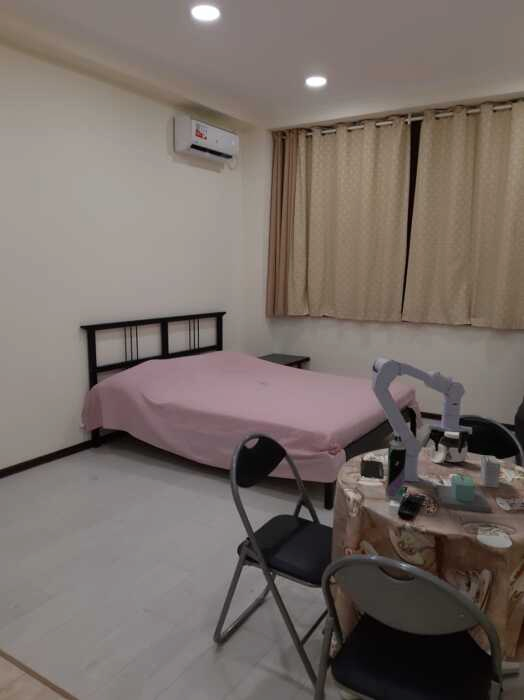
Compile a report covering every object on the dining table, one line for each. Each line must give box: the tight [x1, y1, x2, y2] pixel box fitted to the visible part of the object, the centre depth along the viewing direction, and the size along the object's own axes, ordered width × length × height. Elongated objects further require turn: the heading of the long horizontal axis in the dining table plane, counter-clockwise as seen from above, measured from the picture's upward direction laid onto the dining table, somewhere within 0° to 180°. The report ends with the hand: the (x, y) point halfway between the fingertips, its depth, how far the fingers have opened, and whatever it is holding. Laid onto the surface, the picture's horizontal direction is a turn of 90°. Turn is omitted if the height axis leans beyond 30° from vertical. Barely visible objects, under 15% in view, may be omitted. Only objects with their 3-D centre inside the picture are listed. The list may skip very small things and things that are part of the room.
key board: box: [435, 484, 492, 513], centre depth 160 cm, size 14×14×5 cm
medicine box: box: [479, 455, 501, 489], centre depth 174 cm, size 8×4×9 cm, turn 168°
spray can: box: [385, 435, 406, 500], centre depth 162 cm, size 6×6×20 cm
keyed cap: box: [450, 474, 476, 502], centre depth 160 cm, size 5×8×5 cm
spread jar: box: [429, 431, 468, 465], centre depth 194 cm, size 12×11×12 cm
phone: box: [359, 459, 384, 479], centre depth 185 cm, size 8×1×15 cm
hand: (447, 451), depth 178 cm, fingers open, 7 cm apart
